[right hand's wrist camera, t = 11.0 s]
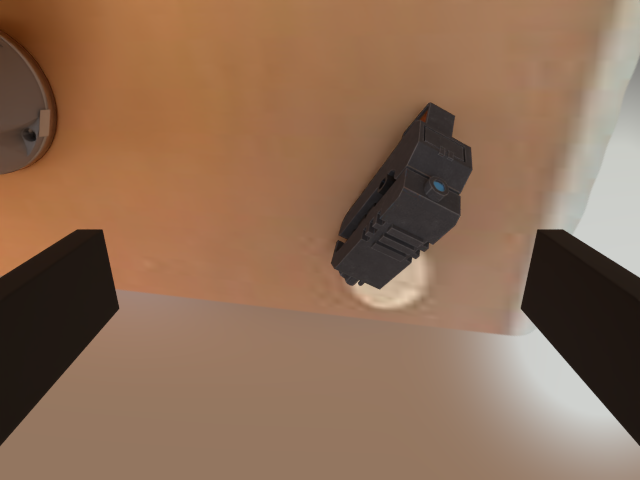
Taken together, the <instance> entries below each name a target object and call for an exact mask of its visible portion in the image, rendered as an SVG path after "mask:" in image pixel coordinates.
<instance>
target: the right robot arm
mask: <svg viewBox="0 0 640 480" xmlns="http://www.w3.org/2000/svg"><path fill="white" fill-rule="evenodd" d="M56 119H57V116H56V106H55V101H54V97H53V93H52V90H51V87H50V85H49V83H48V81H47V79H46V77H45V75H44V73H43V71H42V70H41V68H40V67H39V65H38V64H37V62H36V61H35V60H34V58H33V57H32V56H31V55H30V54H29V53H28V52H27V51H26V50H25V49H24V48H23V47H22V46H21V45H20V44H19V43H18V42H16V41H15V40H14V39H13V38H11V37H10V36H8V35H7V34H5V33H4V32H2V31H0V174H6V173H10V172H13V171H17V170H20V169H23V168H26V167H28V166H30V165H32V164H33V163H35V162H36V161H38V160H39V159H40V158H41V157H42V156H43V155H44V154H45V153H46V151H47V150H48V148H49V146H50V145H51V143H52V140H53V138H54V134H55V130H56ZM118 309H119V305H118V300H117V296H116V291H115V286H114V281H113V277H112V272H111V267H110V262H109V258H108V253H107V248H106V244H105V239H104V234H103V230H76V231H74V232H72V233H71V234H69V235H68V236H66V237H64V238H63V239H61V240H60V241H58V242H56V243H55V244H53V245H52V246H50V247H48V248H47V249H45V250H44V251H42V252H41V253H39V254H37V255H36V256H34V257H33V258H31V259H29V260H28V261H26V262H25V263H23V264H21V265H20V266H18V267H17V268H15V269H13V270H12V271H10V272H9V273H7V274H5V275H4V276H2V277H1V278H0V446H1V444H2V443H3V442H4V441H5V440H6V439H7V438H8V436H9V435H10V434H11V433H12V432H13V431H14V429H15V428H16V427H17V426H18V425H19V424H20V423H21V421H22V420H23V419H24V418H25V417H26V416H27V415H28V413H29V412H30V411H31V410H32V409H33V408H34V406H35V405H36V404H37V403H38V402H39V401H40V400H41V398H42V397H43V396H44V395H45V394H46V393H47V391H48V390H49V389H50V388H51V387H52V386H53V384H54V383H55V382H56V381H57V380H58V379H59V378H60V376H61V375H62V374H63V373H64V372H65V371H66V370H67V368H68V367H69V366H70V365H71V364H72V363H73V361H74V360H75V359H76V358H77V357H78V356H79V355H80V353H81V352H82V351H83V350H84V349H85V347H86V346H87V345H88V344H89V343H90V342H91V341H92V339H93V338H94V337H95V336H96V335H97V334H98V333H99V331H100V330H101V329H102V328H103V327H104V326H105V325H106V323H107V322H108V321H109V320H110V319H111V318H112V316H113V315H114V314H115V313H116V312H117V311H118ZM521 310H522V311H523V312H524V313H525V314H526V315H527V316H528V318H529V319H530V320H531V321H532V322H533V323H534V325H535V326H536V327H537V328H538V329H539V330H540V331H541V333H542V334H543V335H544V336H545V337H546V338H547V340H548V341H549V342H550V343H551V344H552V345H553V346H554V348H555V349H556V350H557V351H558V352H559V353H560V355H561V356H562V357H563V358H564V359H565V360H566V361H567V363H568V364H569V365H570V366H571V367H572V368H573V370H574V371H575V372H576V373H577V374H578V375H579V376H580V378H581V379H582V380H583V381H584V382H585V383H586V384H587V386H588V387H589V388H590V389H591V390H592V391H593V393H594V394H595V395H596V396H597V397H598V398H599V399H600V401H601V402H602V403H603V404H604V405H605V406H606V408H607V409H608V410H609V411H610V412H611V413H612V414H613V416H614V417H615V418H616V419H617V420H618V421H619V423H620V424H621V425H622V426H623V427H624V428H625V429H626V431H627V432H628V433H629V434H630V435H631V436H632V438H633V439H634V440H635V441H636V442H637V443H638V444H639V446H640V278H639V277H638V276H636V275H634V274H633V273H631V272H630V271H628V270H627V269H625V268H623V267H622V266H620V265H619V264H617V263H615V262H614V261H612V260H611V259H609V258H607V257H606V256H604V255H603V254H601V253H599V252H598V251H596V250H595V249H593V248H592V247H590V246H588V245H587V244H585V243H583V242H582V241H580V240H579V239H577V238H576V237H574V236H572V235H571V234H569V233H568V232H566V231H564V230H537V234H536V239H535V244H534V248H533V253H532V258H531V262H530V267H529V272H528V277H527V281H526V286H525V291H524V295H523V300H522V305H521Z"/></svg>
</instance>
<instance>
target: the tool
mask: <svg viewBox="0 0 640 480" xmlns="http://www.w3.org/2000/svg"><path fill="white" fill-rule="evenodd" d="M454 119H455V116H454V115H452V114H451V113H449V112H447V111H445V110H443V109H442V108H440V107H438V106H436V105H434V104H433V103H428V104H427V106H426V107H425V108H424V109H423V110H422V112H421V113H420V114H419V115H418V116H417V118H416V119H415V120H414V121H413V122H412V124H411V125H410V126H409V127H408V129H407V130H406V131H405V132H404V134H403V137H402V140H401V141H400V143H399V144H398V145H397V147H396V148H395V149H394V151H393V152H392V153H391V155H390V156H389V157H388V159H387V160H386V161H385V163H384V164H383V166H382V167H381V168H380V170H379V171H378V172H377V174H376V175H375V176H374V178H373V179H372V180H371V182H370V183H369V184H368V186H367V187H366V189H365V190H364V191H363V193H362V194H361V195H360V197H359V198H358V199H357V201H356V202H355V203H354V205H353V206H352V208H351V209H350V210H349V212H348V213H347V214H346V216H345V218H344V220H343V222H342V225H341V228H340V232H339V236H341V237H343V238H346V239H348V240H347V241H346V242H345V243H343V242H341V241H339V240H338V241H337V243H336V247H335V250H334V254H333V258H332V262H331V264H332V266H333V267H334V269H336V270H338V271H339V273H340V275H341V276H342V277H343V278H345V281H346V283H347V284H349V285H351V286H353V285H355V284H356V283H357V282H358V281H359V280H360V281H359V282H358V284H359V285H360V286H362V285H363V284H364V283H367V284H369V285H371V286H373V287H376V288H378V289H381V288H382V287H383V286H384V285H386V284H387V283H388V282H389V281H390V280H392V279H393V278H394V277H395V276H396V275H398V274H399V273H400V272H401V271H402V270H403V269H405V268H406V267H407V266H408V265H409V264H411V262H412V257H413V258H415V259H417V258H418V257H419V256H420V250H421V251H423V252H425V251H426V250H427V249H428V248H429V243H431V244H434V243H436V242H437V241H438V240H439V239H440V238H441V237H442V236H444V235H445V234H446V233H447V232H448V231H449V230H450V229H452V228H453V227H454V226H455V225H456V223H457V221H458V219H459V217H460V196H459V194H460V193H461V191H462V189H463V187H464V185H465V183H466V181H467V179H468V177H469V175H470V173H471V172H472V157H471V147H469V146H467V145H465V144H463V143H462V142H460V141H458V140H456V139H454V138H452V132H453V125H454Z"/></svg>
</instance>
